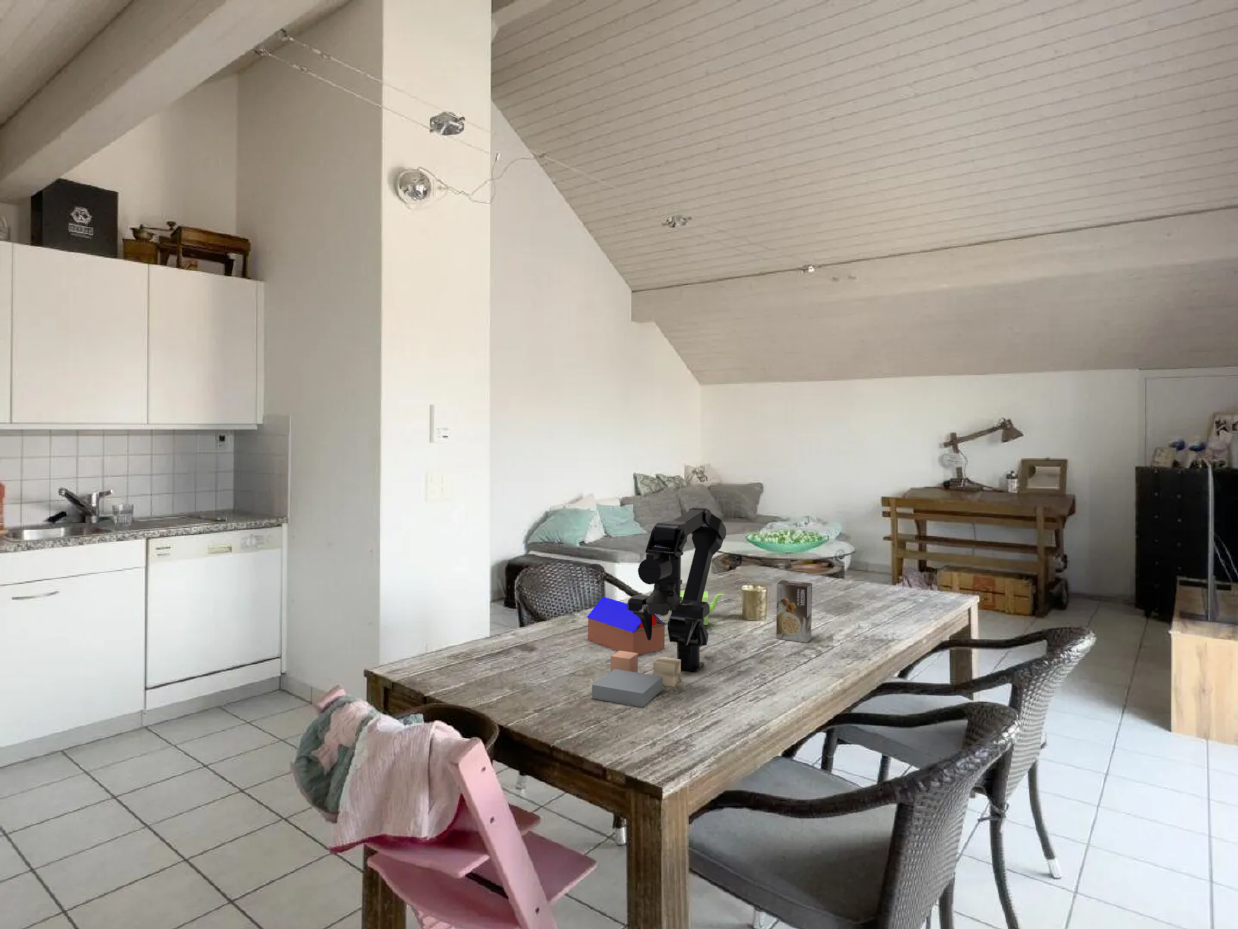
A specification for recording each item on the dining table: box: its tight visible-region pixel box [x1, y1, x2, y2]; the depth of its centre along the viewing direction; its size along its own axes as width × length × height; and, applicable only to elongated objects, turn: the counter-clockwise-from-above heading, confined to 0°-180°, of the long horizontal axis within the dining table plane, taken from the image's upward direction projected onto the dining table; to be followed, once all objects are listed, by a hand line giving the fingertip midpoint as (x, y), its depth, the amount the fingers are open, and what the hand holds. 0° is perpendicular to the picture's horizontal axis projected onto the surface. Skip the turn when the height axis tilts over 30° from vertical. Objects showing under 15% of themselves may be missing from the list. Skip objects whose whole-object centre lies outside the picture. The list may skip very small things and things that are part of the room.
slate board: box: [591, 669, 664, 708], centre depth 162 cm, size 12×12×3 cm
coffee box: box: [775, 579, 813, 644], centre depth 208 cm, size 9×6×16 cm
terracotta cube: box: [609, 651, 639, 673], centre depth 175 cm, size 5×5×5 cm
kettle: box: [670, 590, 725, 626], centre depth 221 cm, size 15×14×11 cm
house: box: [586, 596, 667, 656], centre depth 200 cm, size 12×20×12 cm, turn 40°
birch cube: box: [652, 656, 682, 687], centre depth 170 cm, size 5×5×5 cm
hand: (667, 642), depth 170 cm, fingers open, 9 cm apart
